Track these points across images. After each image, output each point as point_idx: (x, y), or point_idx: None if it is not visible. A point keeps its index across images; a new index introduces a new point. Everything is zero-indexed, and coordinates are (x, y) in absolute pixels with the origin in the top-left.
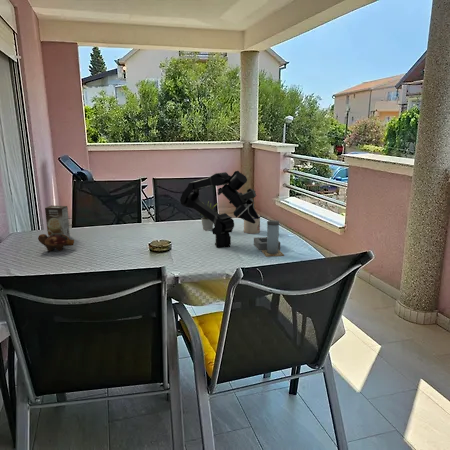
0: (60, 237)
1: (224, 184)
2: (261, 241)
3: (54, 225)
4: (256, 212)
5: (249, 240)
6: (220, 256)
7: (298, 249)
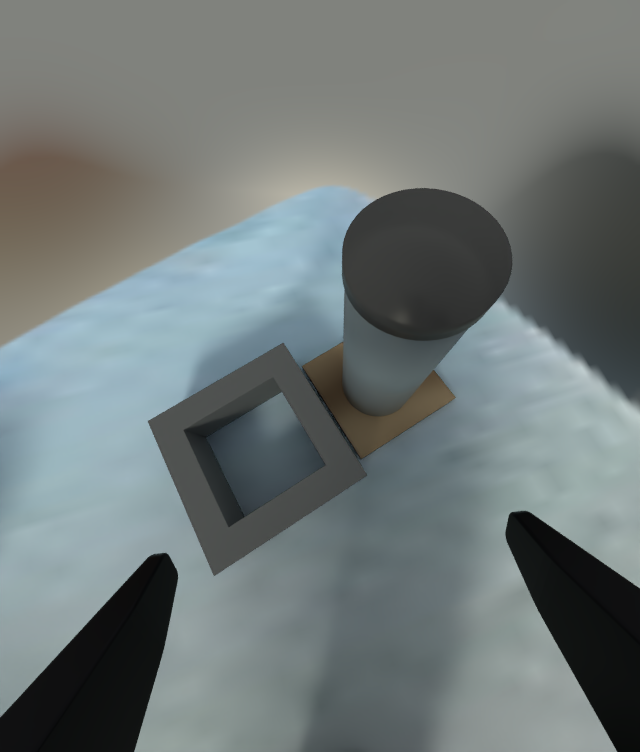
0: None
1: None
2: (226, 500)
3: None
4: (35, 680)
5: None
6: None
7: (251, 278)
